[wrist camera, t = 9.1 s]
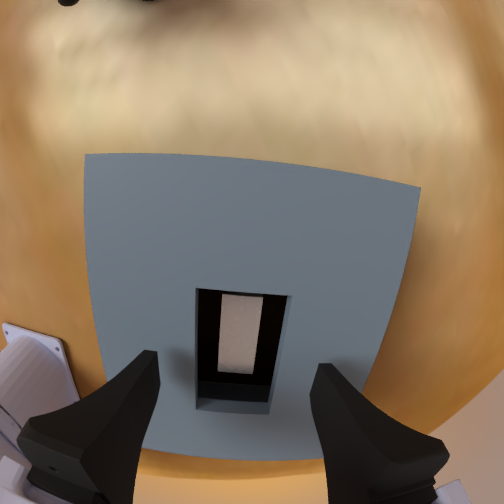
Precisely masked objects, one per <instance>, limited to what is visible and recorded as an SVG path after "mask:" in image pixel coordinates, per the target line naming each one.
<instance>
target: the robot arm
mask: <svg viewBox="0 0 504 504" xmlns="http://www.w3.org/2000/svg"><path fill="white" fill-rule="evenodd" d="M2 327H3V331H4V334H5V337H6V340H7V343H8V345H7V346H6V347H5V348H4V349H3V350H2V351H1V352H0V504H133V493H134V486H135V479H136V473H137V467H138V462H139V457H140V452H141V447H142V444H143V440H144V437H145V434H146V431H147V429H148V426H149V423H150V420H151V417H152V415H153V412H154V409H155V406H156V403H157V399H158V395H159V390H160V385H161V382H160V373H159V363H158V353H157V351H151V350H145V349H144V350H143V351H142V352H141V353H140V354H139V355H138V356H137V357H136V358H135V359H134V360H133V361H131V362H130V363H129V364H128V365H127V366H126V367H125V368H124V369H123V370H122V371H120V372H119V373H118V374H117V375H116V376H115V377H113V378H112V379H111V380H110V381H108V382H107V383H106V384H105V385H103V386H102V387H100V388H99V389H98V390H96V391H95V392H93V393H91V394H90V395H88V396H86V397H85V398H83V399H81V400H80V398H79V395H78V392H77V389H76V386H75V384H74V381H73V378H72V375H71V371H70V368H69V365H68V362H67V358H66V355H65V351H64V348H63V344H62V342H61V340H59V339H58V338H55V337H51V336H47V335H44V334H40V333H37V332H34V331H30V330H27V329H24V328H21V327H18V326H14V325H11V324H8V323H4V324H3V325H2ZM309 396H310V404H311V411H312V416H313V420H314V423H315V427H316V430H317V434H318V437H319V441H320V444H321V448H322V452H323V456H324V463H325V470H326V478H327V487H328V502H329V504H472V503H471V501H470V499H469V497H468V495H467V493H466V491H465V489H464V487H463V485H462V483H461V481H460V479H457V480H455V481H452V482H450V483H448V484H445V485H443V486H441V487H439V488H437V489H436V490H435V489H434V487H433V485H434V484H435V483H436V482H435V479H434V476H435V475H436V474H437V473H438V472H439V470H440V469H441V468H442V467H443V466H444V465H445V464H446V463H447V461H448V459H449V456H450V455H449V452H448V450H447V449H446V447H445V445H444V443H443V442H442V440H440V439H437V438H434V437H431V436H428V435H425V434H422V433H420V432H418V431H415V430H413V429H411V428H409V427H407V426H405V425H403V424H401V423H400V422H398V421H396V420H394V419H393V418H391V417H390V416H388V415H387V414H385V413H384V412H382V411H381V410H380V409H378V408H377V407H376V406H374V405H373V404H372V403H371V402H370V401H369V400H367V399H366V398H365V397H364V396H363V395H362V394H361V393H360V392H359V391H358V390H357V389H356V388H355V387H354V386H353V385H352V384H351V383H350V382H349V381H348V380H347V379H346V378H345V377H344V376H343V375H342V374H341V373H340V372H339V371H338V370H337V368H336V367H335V366H334V365H333V364H332V363H319V364H318V368H317V371H316V374H315V378H314V381H313V384H312V387H311V391H310V394H309Z"/></svg>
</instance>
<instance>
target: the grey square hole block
mask: <svg viewBox="0 0 504 504" xmlns="http://www.w3.org/2000/svg"><path fill="white" fill-rule="evenodd" d="M420 191H421V188H420V187H416V186H411V185H407V184H403V183H398V182H393V181H389V180H384V179H379V178H374V177H369V176H364V175H358V174H353V173H347V172H342V171H336V170H329V169H323V168H317V167H310V166H303V165H295V164H288V163H280V162H271V161H262V160H252V159H242V158H230V157H217V156H202V155H182V154H150V153H108V154H85V167H84V226H85V245H86V258H87V269H88V279H89V288H90V295H91V303H92V309H93V316H94V322H95V328H96V333H97V338H98V343H99V348H100V353H101V358H102V362H103V366H104V371H105V375H106V379H107V382H108V381H110V380H111V379H112V378H113V377H115V376H116V375H117V374H118V373H119V372H120V371H122V370H123V369H124V368H125V367H126V366H127V365H128V364H129V363H130V362H131V361H133V360H134V359H135V358H136V357H137V356H138V355H139V354H140V353H141V352H142V351H143V350H144V349H145V350H151V351H157V353H158V363H159V373H160V382H161V385H160V390H159V395H158V399H157V403H156V406H155V409H154V412H153V415H152V417H151V420H150V423H149V426H148V429H147V431H146V434H145V437H144V440H143V444H142V448H147V449H152V450H157V451H163V452H168V453H175V454H182V455H189V456H197V457H206V458H217V459H231V460H258V461H278V460H304V459H318V458H324V456H323V452H322V448H321V444H320V441H319V437H318V434H317V430H316V427H315V423H314V420H313V416H312V411H311V404H310V396H309V394H310V391H311V387H312V384H313V381H314V378H315V374H316V371H317V368H318V364H319V363H332V364H333V365H334V366H335V367H336V368H337V370H338V371H339V372H340V373H341V374H342V375H343V376H344V377H345V378H346V379H347V380H348V381H349V382H350V383H351V384H352V385H353V386H354V387H355V388H356V389H357V390H358V391H359V392H360V393H362V390H363V388H364V386H365V383H366V381H367V379H368V376H369V374H370V371H371V369H372V366H373V364H374V361H375V359H376V356H377V354H378V351H379V348H380V346H381V343H382V340H383V337H384V334H385V332H386V329H387V326H388V323H389V320H390V317H391V314H392V310H393V307H394V304H395V301H396V297H397V294H398V291H399V287H400V284H401V280H402V276H403V272H404V269H405V265H406V261H407V257H408V252H409V248H410V244H411V239H412V235H413V230H414V225H415V220H416V214H417V209H418V203H419V197H420ZM199 288H203V289H213V290H224V291H236V292H248V293H261V294H274V295H288V296H287V302H286V308H285V314H284V319H283V325H282V331H281V336H280V342H279V347H278V353H277V358H276V363H275V368H274V373H273V379H272V384H271V386H269V385H247V384H232V383H219V382H209V381H199V380H197V337H198V290H199Z"/></svg>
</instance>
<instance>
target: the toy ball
mask: <svg viewBox="0 0 504 504" xmlns="http://www.w3.org/2000/svg"><path fill="white" fill-rule="evenodd" d="M78 1H79V0H58V2H59V3H60V4H61V5H62V6H73V5H75V4H76V3H77V2H78ZM143 1H153V0H143Z"/></svg>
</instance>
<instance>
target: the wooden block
mask: <svg viewBox="0 0 504 504" xmlns="http://www.w3.org/2000/svg"><path fill="white" fill-rule="evenodd" d="M262 303H263V294H261V293H248V292H236V291H224V290H223V293H222V307H221V322H220V339H219V356H218V371H219V372H231V373H245V374H253V368H254V361H255V354H256V347H257V340H258V332H259V325H260V318H261V310H262Z"/></svg>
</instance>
